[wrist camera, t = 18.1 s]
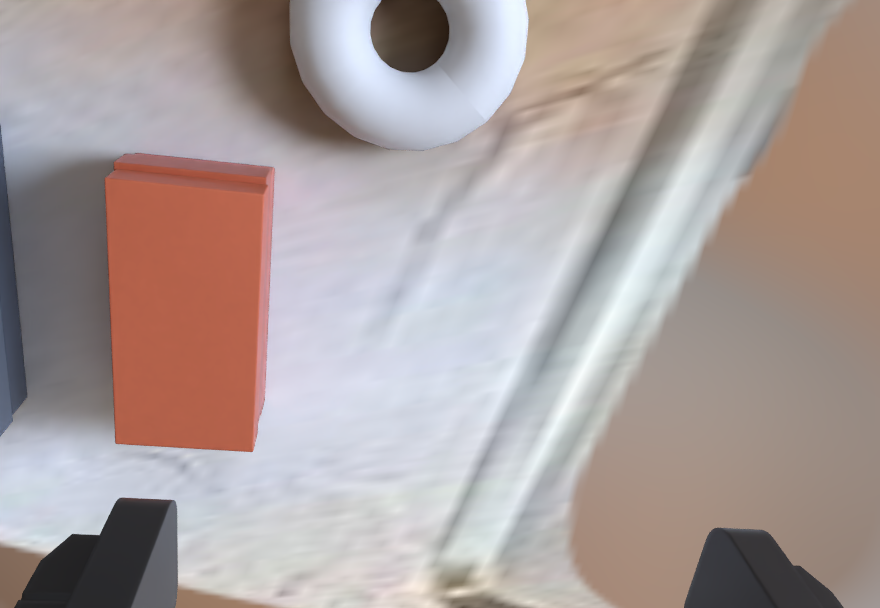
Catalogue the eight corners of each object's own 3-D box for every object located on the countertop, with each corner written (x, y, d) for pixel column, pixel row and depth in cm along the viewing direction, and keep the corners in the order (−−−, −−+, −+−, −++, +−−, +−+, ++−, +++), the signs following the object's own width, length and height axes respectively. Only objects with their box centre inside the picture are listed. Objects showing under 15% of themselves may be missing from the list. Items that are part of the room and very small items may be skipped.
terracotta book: (116, 168, 31) (103, 177, 29) (269, 184, 32) (264, 194, 30) (125, 425, 36) (114, 444, 34) (257, 433, 36) (253, 452, 35)
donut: (360, -152, 30) (252, 73, 33) (360, -170, 27) (240, 81, 30) (563, -15, 33) (447, 182, 35) (584, -15, 29) (455, 200, 32)
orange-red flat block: (135, 145, 34) (113, 161, 31) (275, 160, 34) (266, 177, 31) (142, 392, 39) (124, 426, 36) (264, 399, 39) (256, 433, 36)
